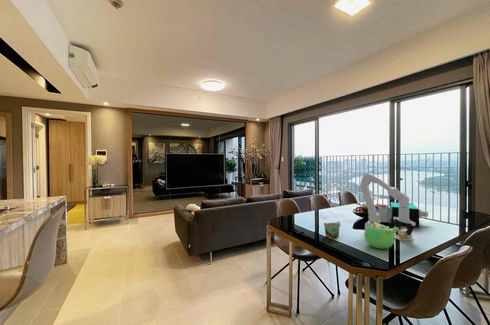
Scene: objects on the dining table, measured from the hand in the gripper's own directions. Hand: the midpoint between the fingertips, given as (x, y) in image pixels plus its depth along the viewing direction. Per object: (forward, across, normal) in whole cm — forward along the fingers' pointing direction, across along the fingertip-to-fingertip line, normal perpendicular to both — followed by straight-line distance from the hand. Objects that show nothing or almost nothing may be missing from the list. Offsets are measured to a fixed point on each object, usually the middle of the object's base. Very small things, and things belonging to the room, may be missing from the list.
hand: (403, 233), depth 146 cm
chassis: (+4, 0, 0) cm, 4 cm away
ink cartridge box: (+4, +38, -21) cm, 43 cm away
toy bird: (+4, -8, +27) cm, 29 cm away
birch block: (+3, 0, 0) cm, 3 cm away
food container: (+4, +14, +44) cm, 46 cm away
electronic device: (+4, +29, -37) cm, 47 cm away
